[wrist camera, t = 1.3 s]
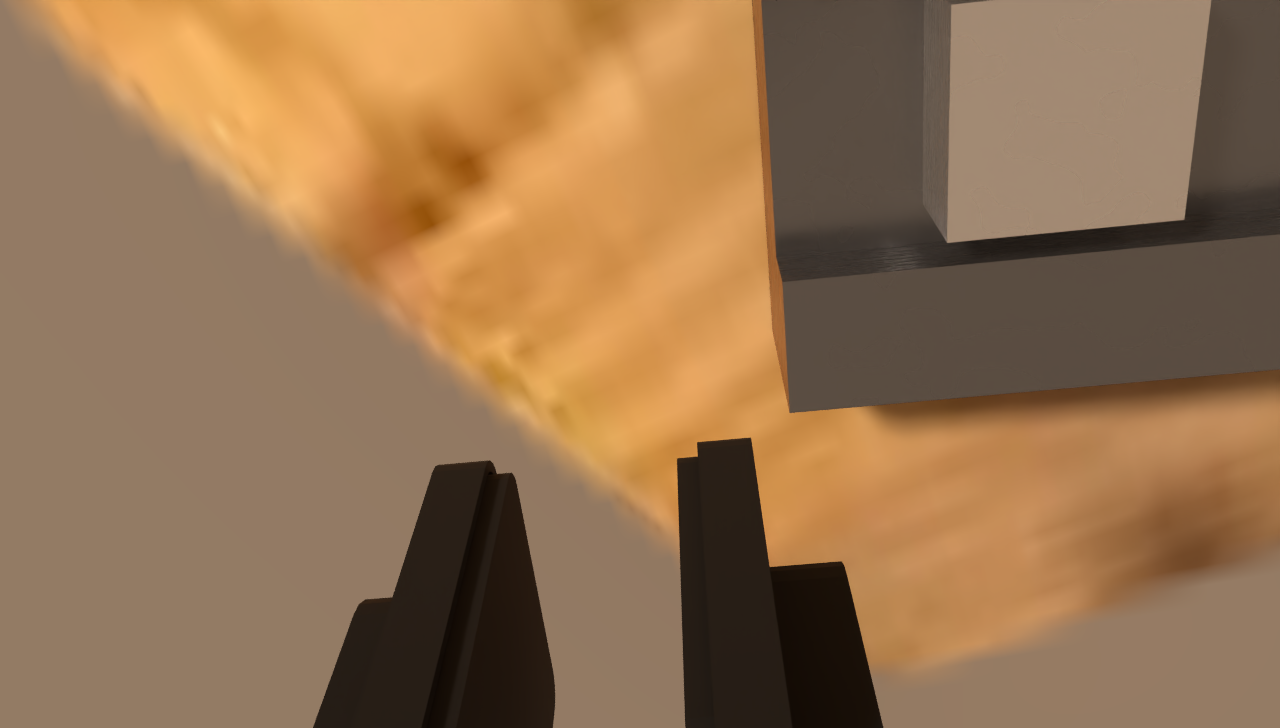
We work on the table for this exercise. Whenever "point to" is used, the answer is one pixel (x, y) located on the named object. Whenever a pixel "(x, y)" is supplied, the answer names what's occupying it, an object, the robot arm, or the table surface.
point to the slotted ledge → (1009, 266)
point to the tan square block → (1059, 113)
